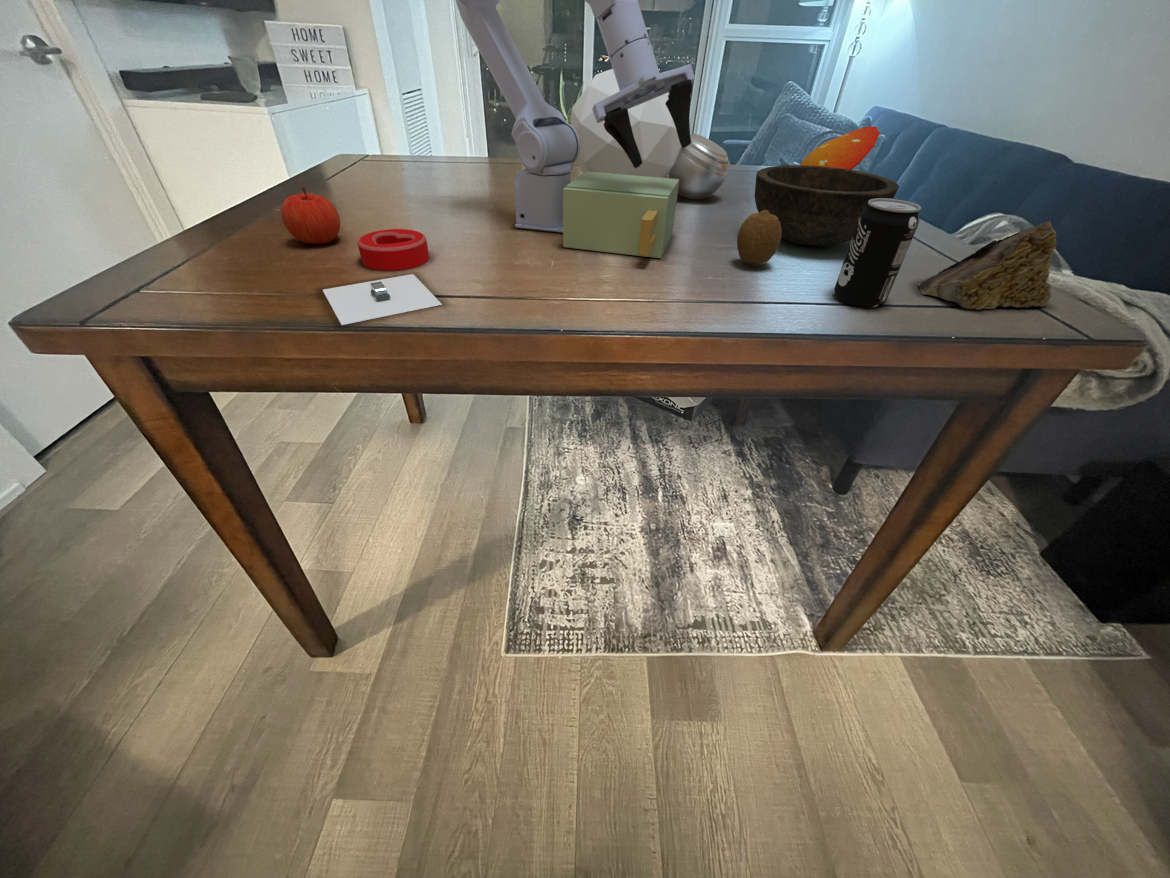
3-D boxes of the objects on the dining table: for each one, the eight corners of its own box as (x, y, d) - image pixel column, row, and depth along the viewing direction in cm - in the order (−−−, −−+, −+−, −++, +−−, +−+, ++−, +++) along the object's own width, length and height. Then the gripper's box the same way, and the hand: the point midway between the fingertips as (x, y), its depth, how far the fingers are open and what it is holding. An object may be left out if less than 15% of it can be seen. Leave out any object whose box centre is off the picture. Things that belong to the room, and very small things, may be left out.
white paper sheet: (341, 325, 58) (337, 312, 57) (322, 289, 65) (318, 278, 65) (442, 304, 63) (440, 293, 62) (413, 274, 71) (411, 263, 70)
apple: (282, 241, 80) (264, 186, 75) (331, 231, 85) (317, 179, 80) (304, 253, 76) (286, 196, 71) (354, 242, 81) (340, 188, 76)
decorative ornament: (354, 270, 71) (348, 248, 69) (372, 248, 79) (367, 227, 77) (422, 271, 72) (418, 248, 70) (434, 249, 79) (430, 228, 77)
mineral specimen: (891, 261, 72) (995, 195, 69) (909, 331, 79) (1004, 274, 76) (953, 287, 62) (1078, 211, 59) (967, 364, 69) (1079, 301, 66)
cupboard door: (655, 269, 74) (662, 207, 69) (552, 257, 77) (551, 196, 72) (661, 256, 79) (668, 196, 73) (564, 245, 82) (564, 187, 76)
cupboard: (661, 257, 79) (669, 195, 73) (565, 245, 82) (565, 185, 77) (672, 235, 88) (679, 179, 83) (585, 226, 91) (586, 171, 86)
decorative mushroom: (834, 197, 114) (858, 120, 105) (866, 222, 98) (897, 134, 89) (768, 194, 115) (786, 117, 106) (789, 218, 99) (812, 130, 89)
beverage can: (823, 290, 70) (854, 197, 62) (868, 289, 70) (904, 197, 63) (846, 309, 65) (883, 211, 57) (894, 309, 65) (937, 211, 58)
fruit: (723, 261, 78) (734, 206, 73) (756, 256, 80) (768, 203, 75) (748, 274, 74) (762, 217, 69) (782, 269, 76) (797, 213, 71)
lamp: (557, 153, 117) (598, 28, 100) (689, 214, 124) (746, 107, 108) (545, 187, 100) (591, 46, 84) (697, 255, 108) (767, 137, 92)
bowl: (874, 234, 92) (897, 173, 85) (874, 271, 76) (901, 201, 70) (754, 217, 99) (767, 160, 92) (731, 249, 83) (745, 182, 77)
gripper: (585, 57, 64) (622, 167, 68) (688, 15, 64) (719, 127, 68) (578, 81, 71) (612, 180, 75) (671, 42, 71) (700, 143, 75)
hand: (662, 155), depth 72 cm, fingers open, 7 cm apart
